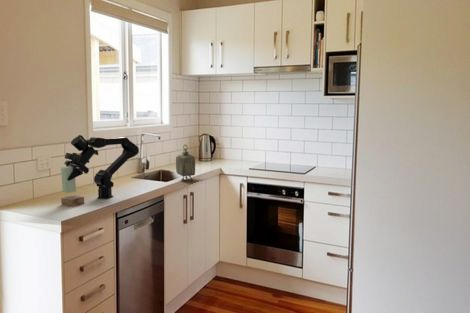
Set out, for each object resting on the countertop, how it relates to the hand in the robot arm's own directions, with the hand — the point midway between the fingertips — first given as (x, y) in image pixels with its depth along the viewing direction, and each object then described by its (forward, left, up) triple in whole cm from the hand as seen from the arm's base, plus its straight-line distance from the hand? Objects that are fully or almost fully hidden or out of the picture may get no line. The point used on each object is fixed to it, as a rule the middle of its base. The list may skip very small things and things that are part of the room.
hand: (65, 179), depth 206 cm
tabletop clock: (-35, -80, -14) cm, 88 cm away
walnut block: (-2, -2, -14) cm, 14 cm away
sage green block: (-1, -1, -7) cm, 7 cm away
